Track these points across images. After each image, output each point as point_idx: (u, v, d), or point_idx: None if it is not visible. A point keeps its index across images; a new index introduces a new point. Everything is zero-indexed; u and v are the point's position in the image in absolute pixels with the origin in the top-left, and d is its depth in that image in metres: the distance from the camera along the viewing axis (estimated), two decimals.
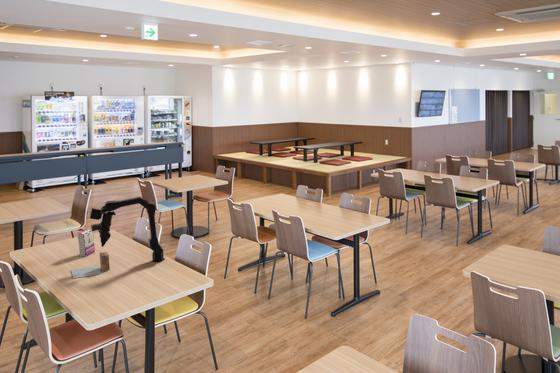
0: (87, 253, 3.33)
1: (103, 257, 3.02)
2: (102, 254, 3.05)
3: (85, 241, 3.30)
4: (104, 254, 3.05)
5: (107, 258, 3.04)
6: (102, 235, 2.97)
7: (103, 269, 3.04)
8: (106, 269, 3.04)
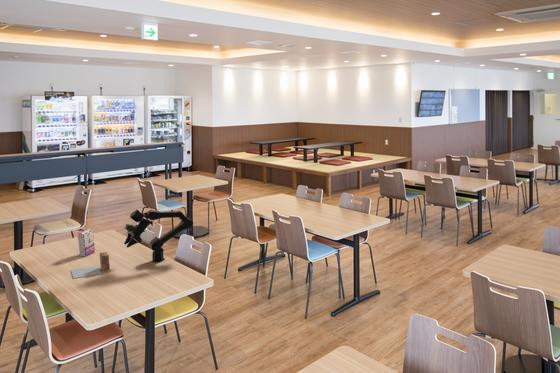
0: (87, 253, 3.33)
1: (103, 257, 3.02)
2: (102, 254, 3.05)
3: (85, 241, 3.30)
4: (104, 254, 3.05)
5: (107, 258, 3.04)
6: (135, 237, 3.04)
7: (103, 269, 3.04)
8: (106, 269, 3.04)
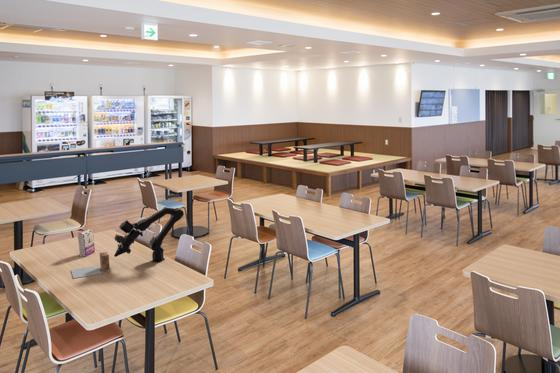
0: (87, 253, 3.33)
1: (103, 257, 3.02)
2: (102, 254, 3.05)
3: (85, 241, 3.30)
4: (104, 254, 3.05)
5: (107, 258, 3.04)
6: (124, 248, 3.02)
7: (103, 269, 3.04)
8: (106, 269, 3.04)
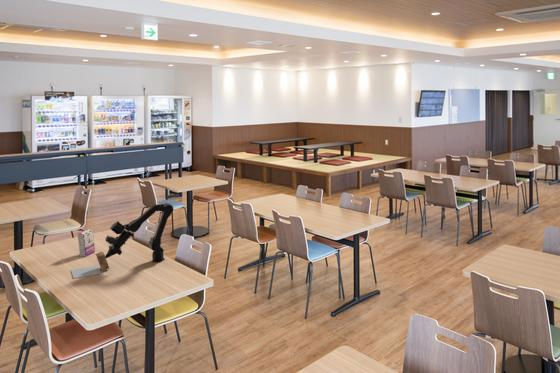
0: (87, 253, 3.33)
1: (99, 257, 3.01)
2: (98, 255, 3.04)
3: (85, 241, 3.30)
4: (100, 254, 3.04)
5: (104, 258, 3.03)
6: (115, 250, 2.99)
7: (102, 269, 3.03)
8: (105, 268, 3.04)
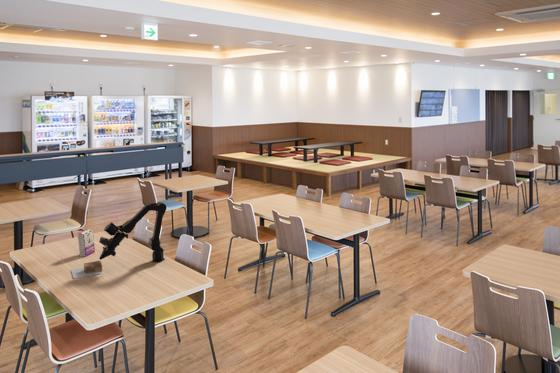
0: (87, 253, 3.33)
1: (86, 271, 2.99)
2: (84, 270, 3.01)
3: (85, 241, 3.30)
4: (84, 268, 3.01)
5: (89, 267, 2.99)
6: (109, 251, 2.98)
7: (100, 269, 3.03)
8: (100, 267, 3.02)
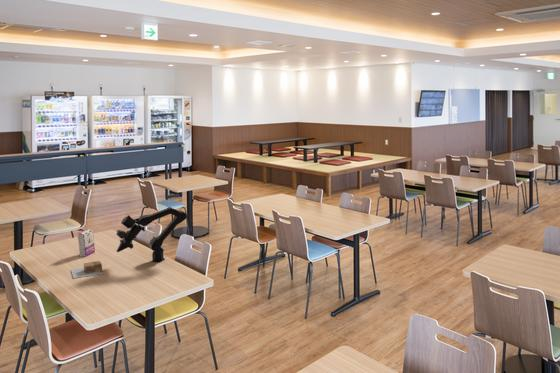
0: (87, 253, 3.33)
1: (86, 271, 2.99)
2: (84, 270, 3.01)
3: (85, 241, 3.30)
4: (84, 268, 3.01)
5: (89, 267, 2.99)
6: (126, 243, 3.02)
7: (100, 269, 3.03)
8: (100, 267, 3.02)
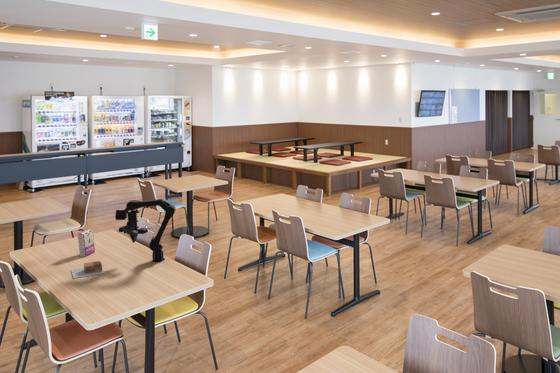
0: (87, 253, 3.33)
1: (86, 271, 2.99)
2: (84, 270, 3.01)
3: (85, 241, 3.30)
4: (84, 268, 3.01)
5: (89, 267, 2.99)
6: (144, 232, 3.13)
7: (100, 269, 3.03)
8: (100, 267, 3.02)
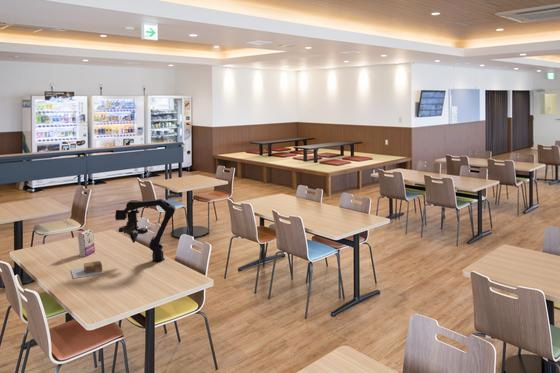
0: (87, 253, 3.33)
1: (86, 271, 2.99)
2: (84, 270, 3.01)
3: (85, 241, 3.30)
4: (84, 268, 3.01)
5: (89, 267, 2.99)
6: (144, 232, 3.13)
7: (100, 269, 3.03)
8: (100, 267, 3.02)
